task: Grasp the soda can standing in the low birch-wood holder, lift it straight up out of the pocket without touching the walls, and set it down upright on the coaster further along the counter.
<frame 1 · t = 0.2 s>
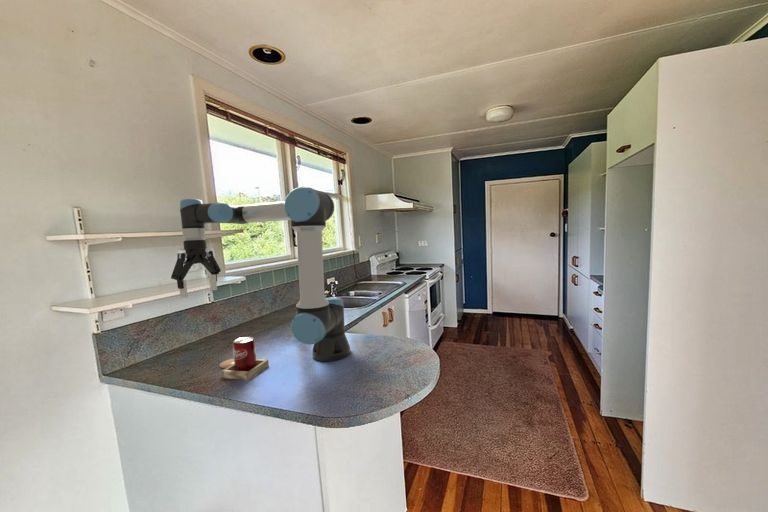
hand: (199, 293, 120), 28 cm above the worktop, fingers open, 13 cm apart
holder: (246, 371, 110), on the worktop
soda can: (246, 372, 110), resting in holder
coaster: (231, 363, 118), on the worktop
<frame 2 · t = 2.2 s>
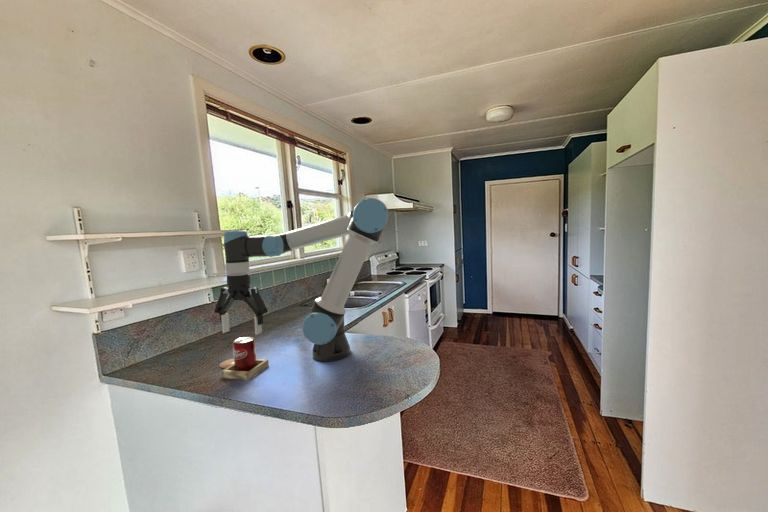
hand: (242, 332, 109), 15 cm above the worktop, fingers open, 13 cm apart
nothing on the worktop moved.
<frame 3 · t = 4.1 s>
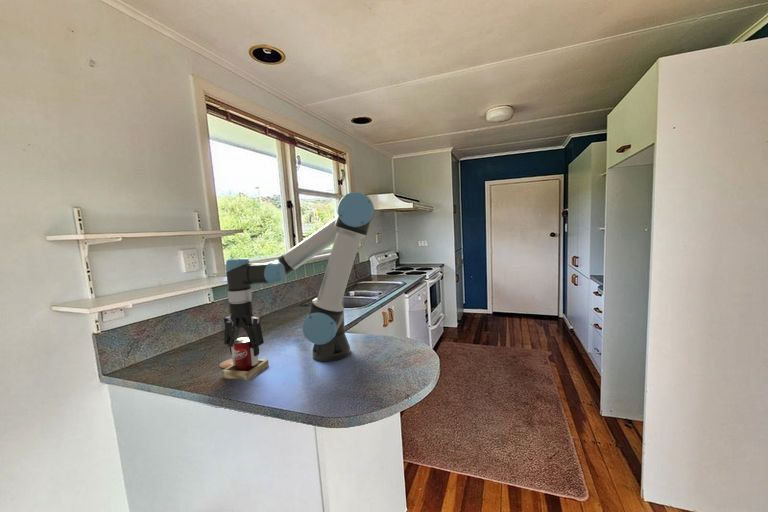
hand: (245, 363, 110), 3 cm above the worktop, fingers closed on soda can, 7 cm apart
soda can: (246, 372, 110), resting in holder, touching gripper
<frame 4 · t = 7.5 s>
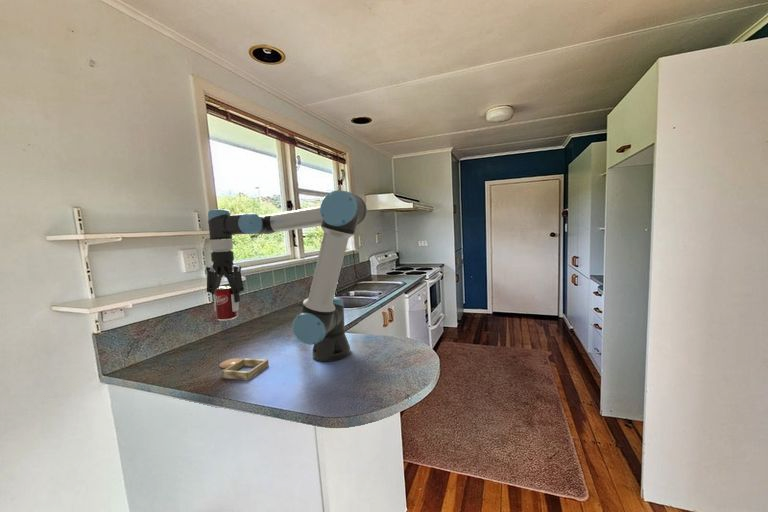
hand: (226, 310, 116), 21 cm above the worktop, fingers closed on soda can, 7 cm apart
soda can: (227, 318, 117), point 18 cm above the worktop, touching gripper
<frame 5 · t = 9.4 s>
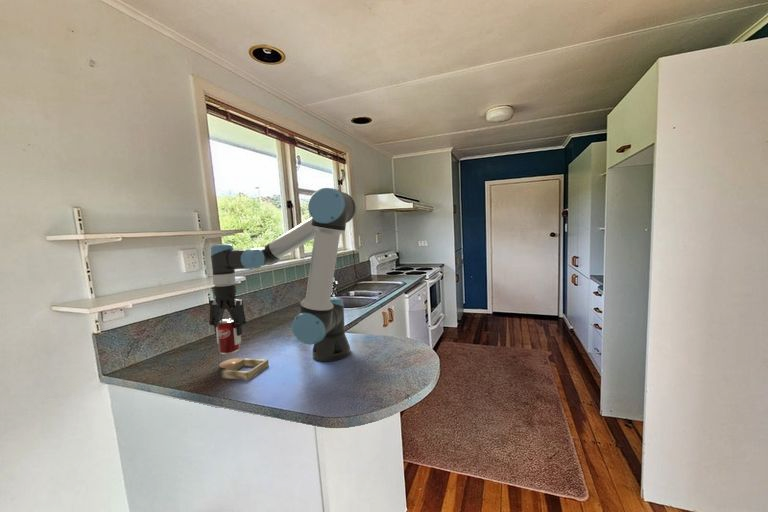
hand: (229, 343, 118), 8 cm above the worktop, fingers closed on soda can, 7 cm apart
soda can: (229, 351, 118), point 5 cm above the worktop, touching gripper
when the fingers open (5 cm above the worktop, at t = 10.9 s): soda can stays where it is, resting on coaster.
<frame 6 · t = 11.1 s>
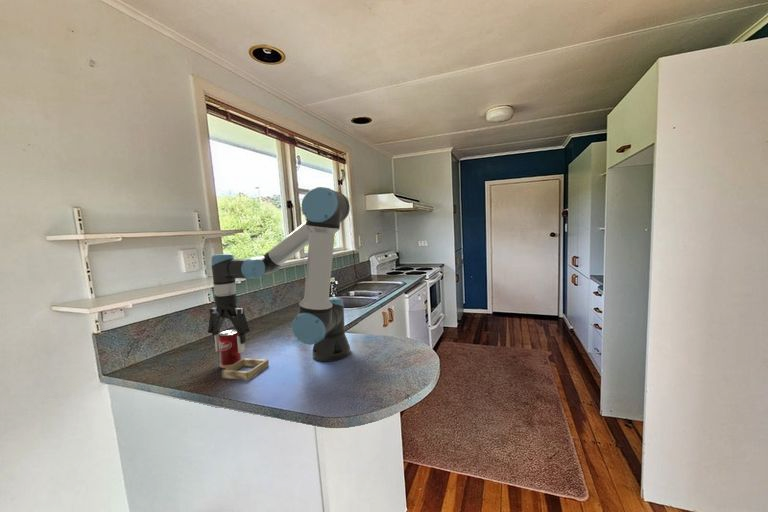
hand: (230, 351, 118), 5 cm above the worktop, fingers open, 9 cm apart
soda can: (231, 363, 118), resting on coaster
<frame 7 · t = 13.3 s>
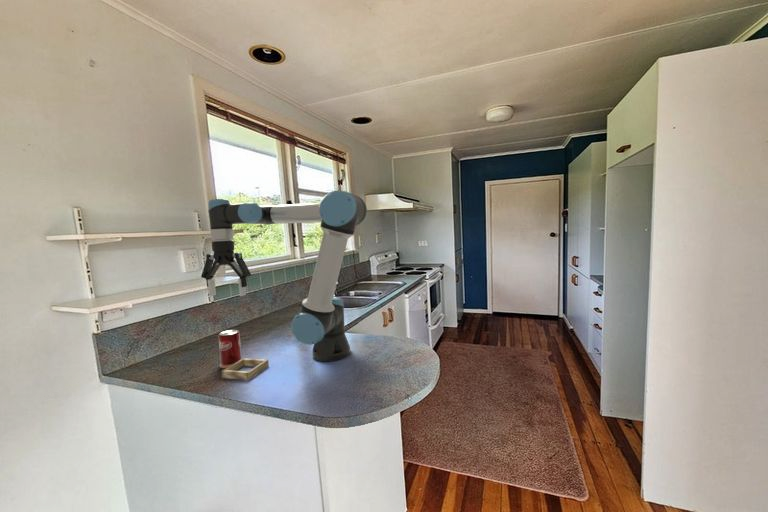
hand: (227, 295, 117), 27 cm above the worktop, fingers open, 13 cm apart
nothing on the worktop moved.
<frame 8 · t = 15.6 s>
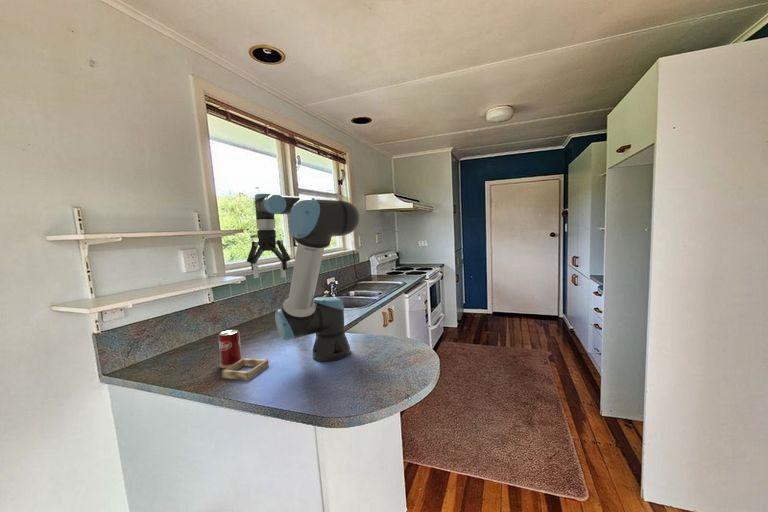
hand: (269, 277, 134), 31 cm above the worktop, fingers open, 13 cm apart
nothing on the worktop moved.
at the end: soda can 0.1 cm from the coaster (horizontally); soda can tilted 0°; soda can resting on coaster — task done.
